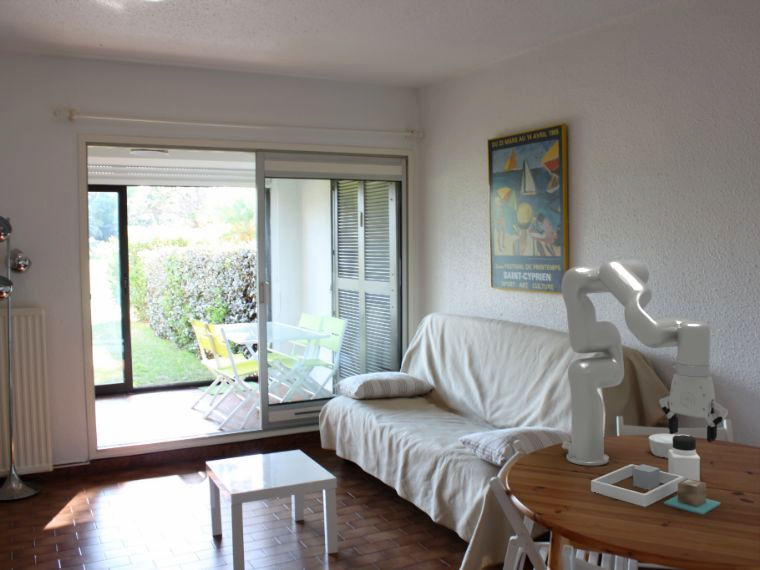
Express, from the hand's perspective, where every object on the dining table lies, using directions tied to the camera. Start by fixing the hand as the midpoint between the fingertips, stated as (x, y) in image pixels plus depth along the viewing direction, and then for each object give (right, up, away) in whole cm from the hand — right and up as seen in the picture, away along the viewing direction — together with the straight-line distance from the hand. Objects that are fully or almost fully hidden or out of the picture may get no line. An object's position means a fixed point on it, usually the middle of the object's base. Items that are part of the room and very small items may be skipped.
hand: (692, 437), depth 182 cm
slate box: (-6, -17, +15) cm, 23 cm away
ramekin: (+11, -15, +43) cm, 47 cm away
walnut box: (0, -17, +1) cm, 17 cm away
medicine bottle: (+7, -16, +21) cm, 27 cm away
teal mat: (0, -17, +1) cm, 17 cm away
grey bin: (-9, -17, +12) cm, 23 cm away
